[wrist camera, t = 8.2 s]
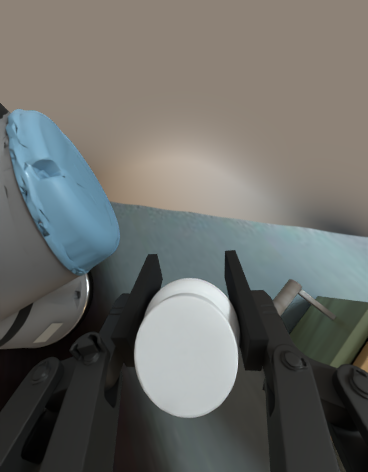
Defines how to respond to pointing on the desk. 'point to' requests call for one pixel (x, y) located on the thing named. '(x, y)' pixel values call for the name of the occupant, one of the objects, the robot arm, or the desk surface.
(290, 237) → the desk surface
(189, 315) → the pill bottle
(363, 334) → the storage drawer
